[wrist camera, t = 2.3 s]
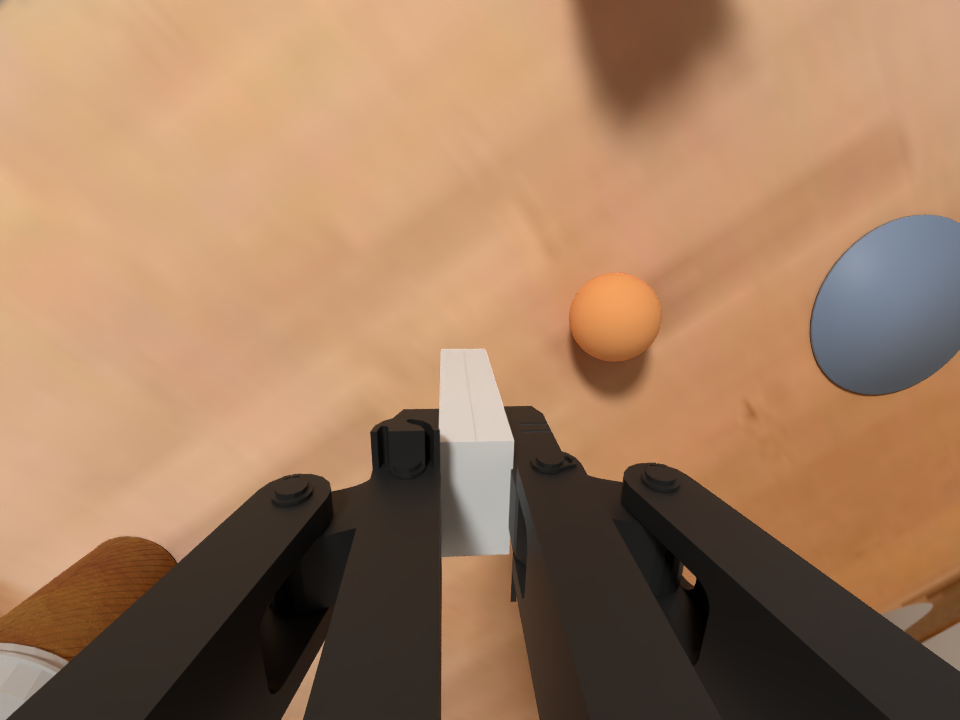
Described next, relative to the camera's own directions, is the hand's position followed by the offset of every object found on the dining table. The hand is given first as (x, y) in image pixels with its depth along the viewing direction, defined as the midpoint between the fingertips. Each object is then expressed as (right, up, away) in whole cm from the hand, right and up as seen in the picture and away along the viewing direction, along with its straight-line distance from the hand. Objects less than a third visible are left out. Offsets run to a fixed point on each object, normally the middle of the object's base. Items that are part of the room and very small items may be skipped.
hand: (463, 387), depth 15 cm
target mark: (+31, +5, +17) cm, 35 cm away
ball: (+9, +4, +13) cm, 16 cm away
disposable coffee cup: (-25, -15, +19) cm, 35 cm away
